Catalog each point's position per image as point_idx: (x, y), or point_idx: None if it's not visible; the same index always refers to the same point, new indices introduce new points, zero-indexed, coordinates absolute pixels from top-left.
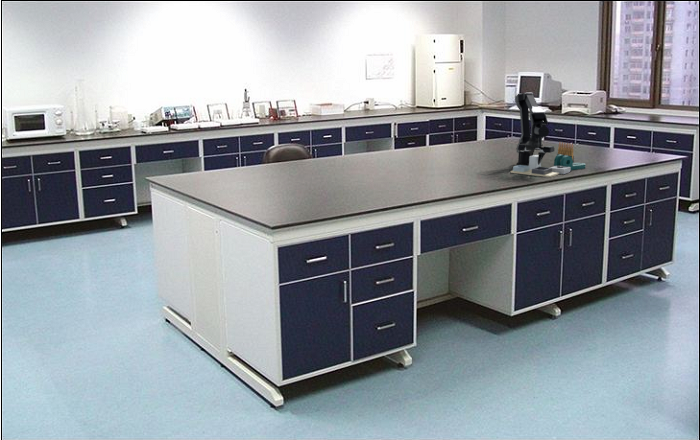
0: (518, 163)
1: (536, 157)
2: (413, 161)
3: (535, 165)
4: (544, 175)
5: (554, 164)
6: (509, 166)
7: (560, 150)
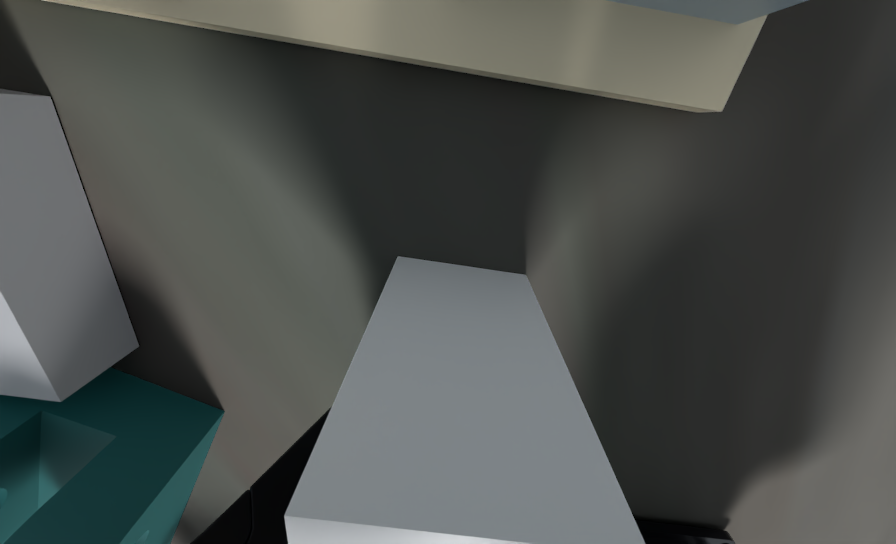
0: (710, 531)
1: (299, 490)
2: None
3: (392, 296)
4: None
5: (161, 471)
6: (855, 371)
7: None
